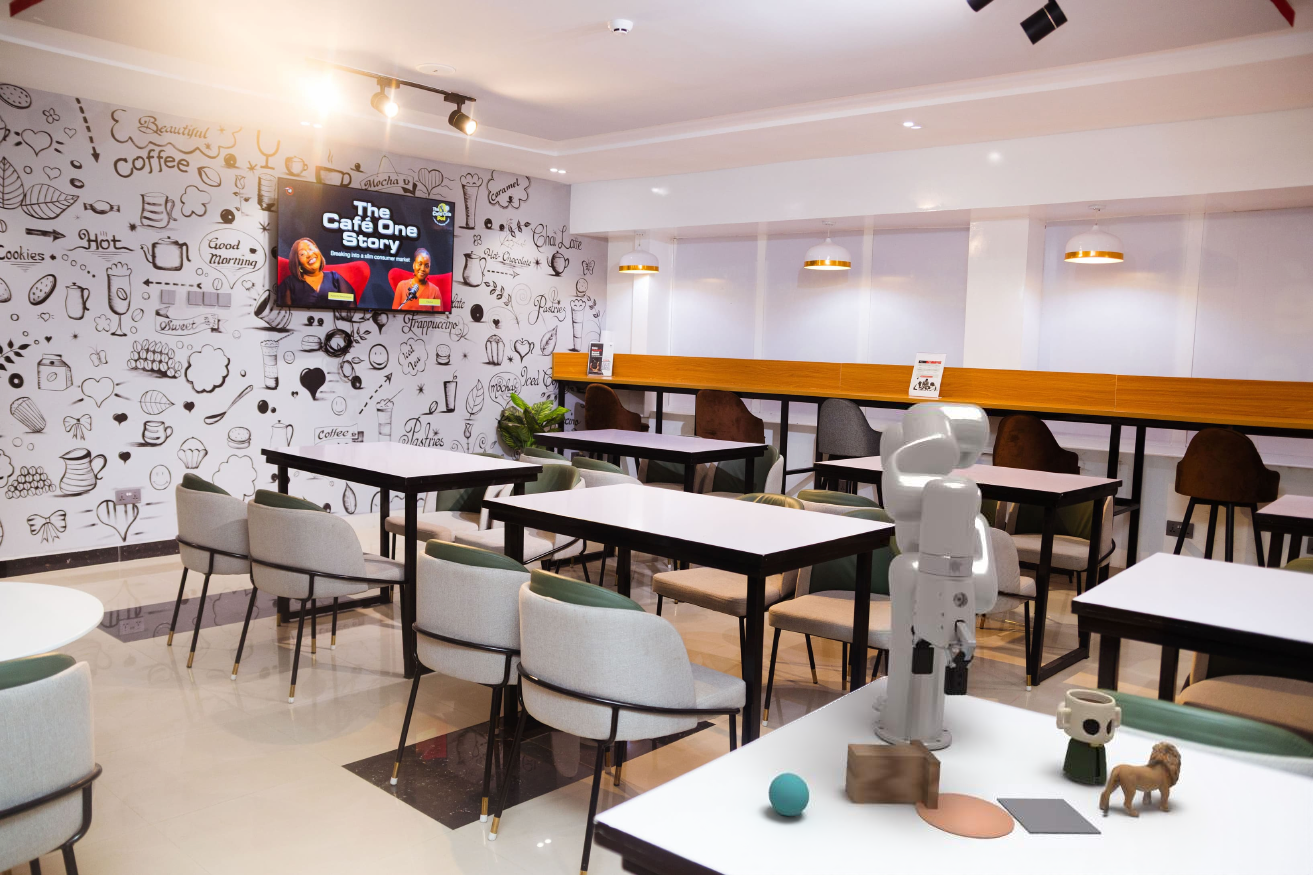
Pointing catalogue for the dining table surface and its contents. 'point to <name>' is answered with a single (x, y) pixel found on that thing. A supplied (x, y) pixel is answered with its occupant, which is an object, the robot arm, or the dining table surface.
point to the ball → (788, 794)
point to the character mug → (1088, 732)
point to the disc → (967, 816)
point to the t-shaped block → (892, 774)
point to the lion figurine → (1145, 778)
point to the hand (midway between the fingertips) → (937, 683)
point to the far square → (1048, 816)
